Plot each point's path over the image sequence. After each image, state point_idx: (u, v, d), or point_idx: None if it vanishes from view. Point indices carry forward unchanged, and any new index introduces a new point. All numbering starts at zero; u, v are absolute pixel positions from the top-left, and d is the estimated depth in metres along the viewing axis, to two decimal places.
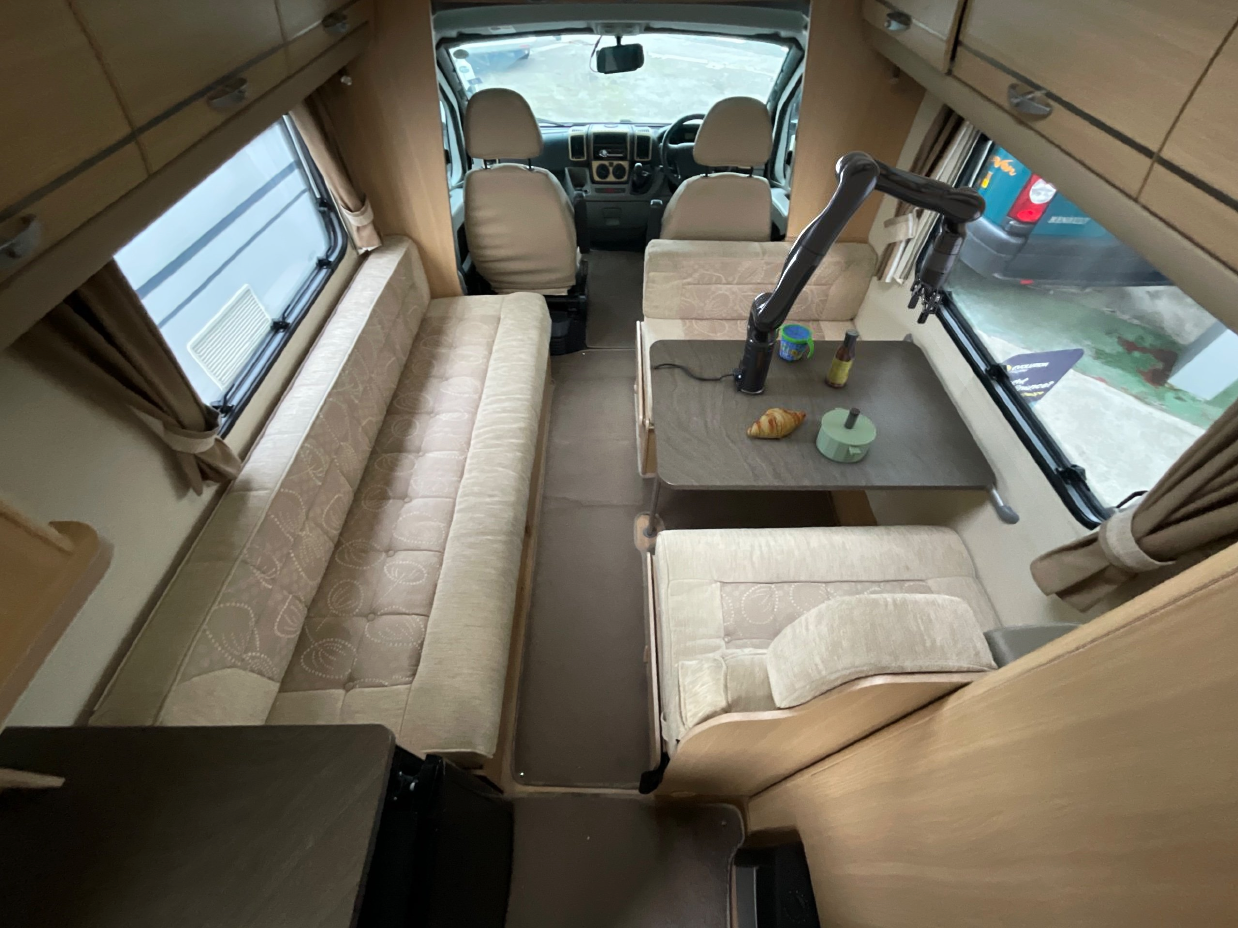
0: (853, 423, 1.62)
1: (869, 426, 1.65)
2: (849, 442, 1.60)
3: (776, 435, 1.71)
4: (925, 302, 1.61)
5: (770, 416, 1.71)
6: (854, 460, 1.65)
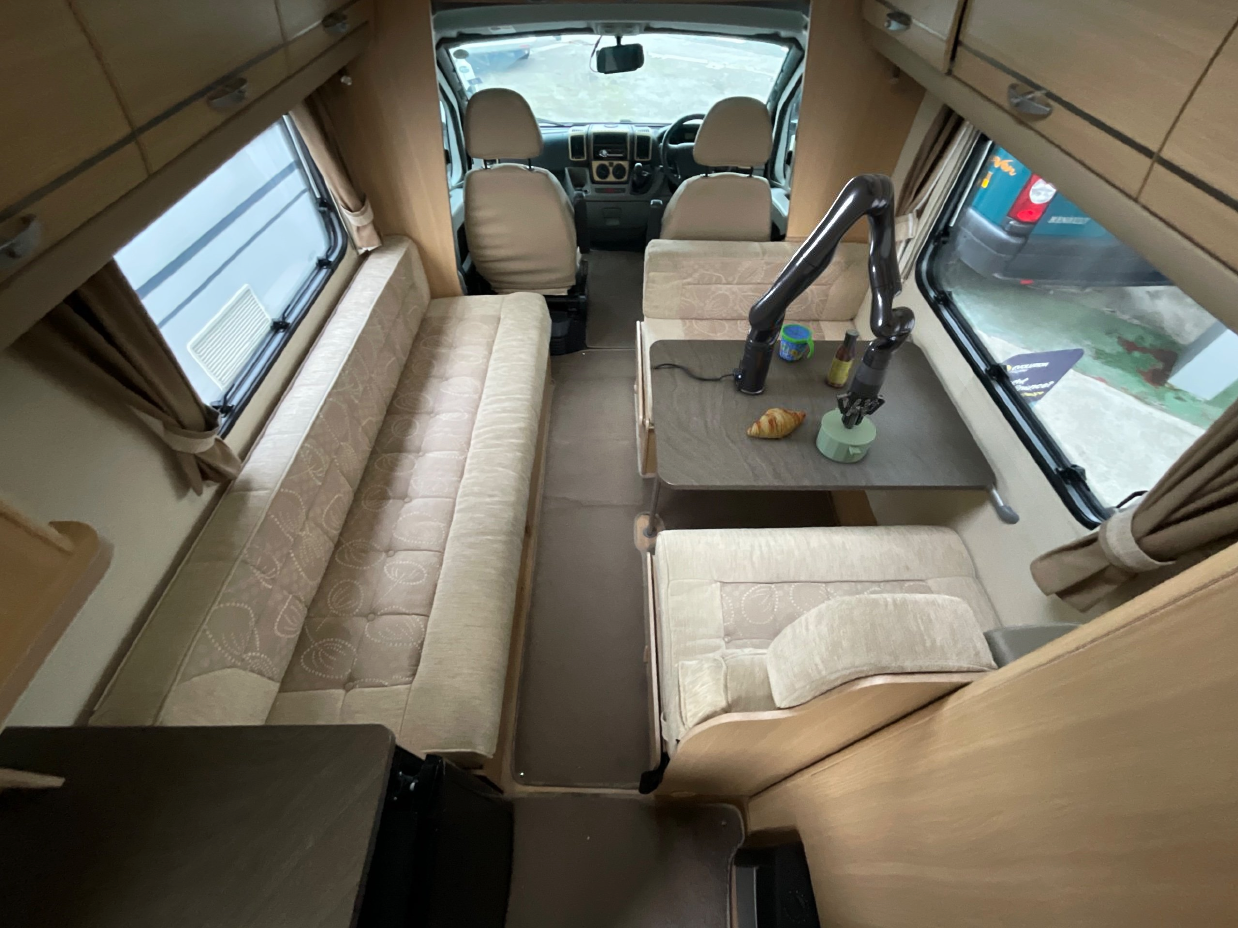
0: (853, 423, 1.62)
1: (869, 426, 1.65)
2: (849, 442, 1.60)
3: (776, 435, 1.71)
4: (847, 403, 1.60)
5: (770, 416, 1.71)
6: (854, 460, 1.65)
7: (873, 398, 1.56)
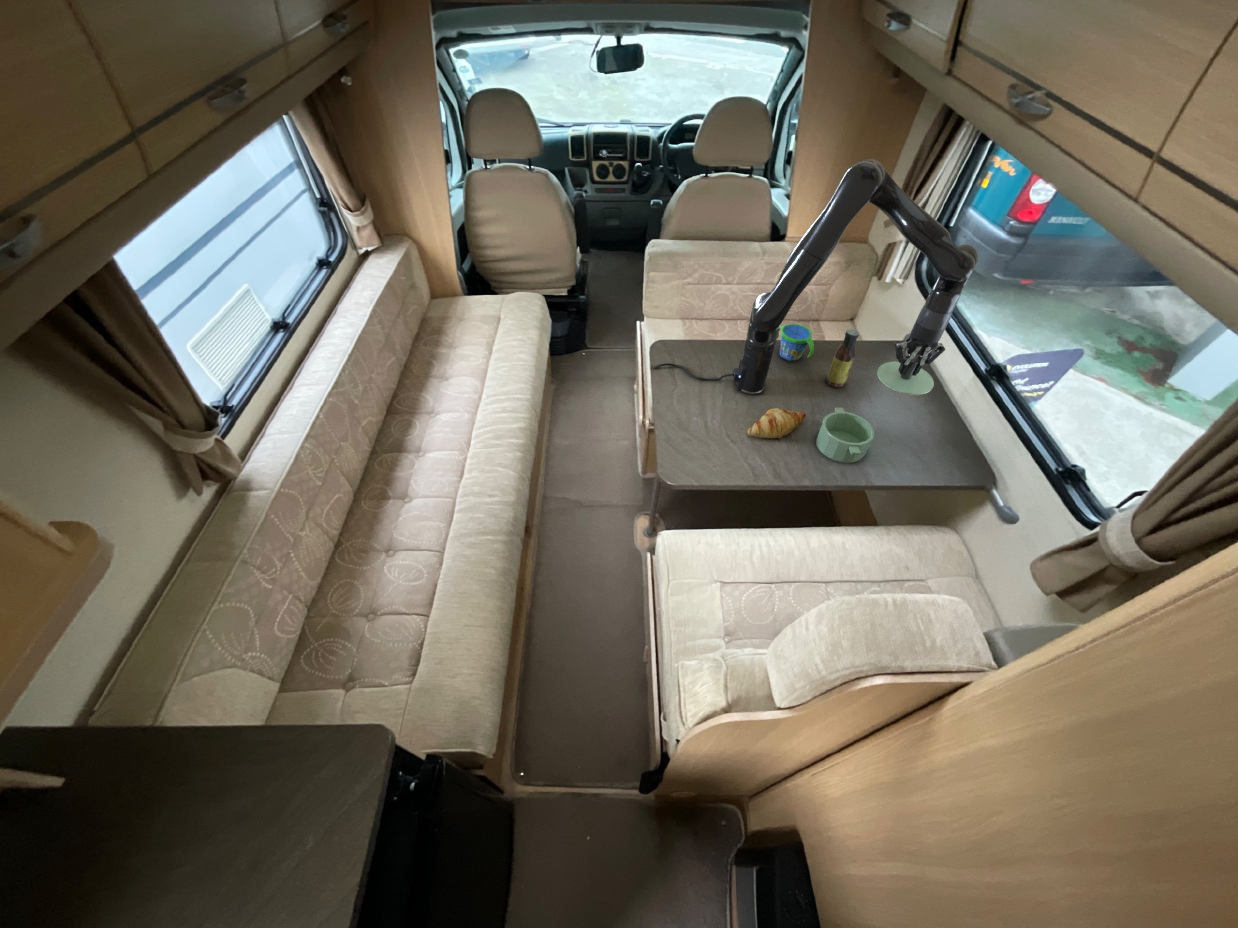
0: (911, 373, 1.60)
1: (926, 377, 1.63)
2: (908, 391, 1.58)
3: (776, 435, 1.71)
4: (906, 352, 1.58)
5: (770, 416, 1.71)
6: (854, 460, 1.65)
7: (933, 345, 1.54)
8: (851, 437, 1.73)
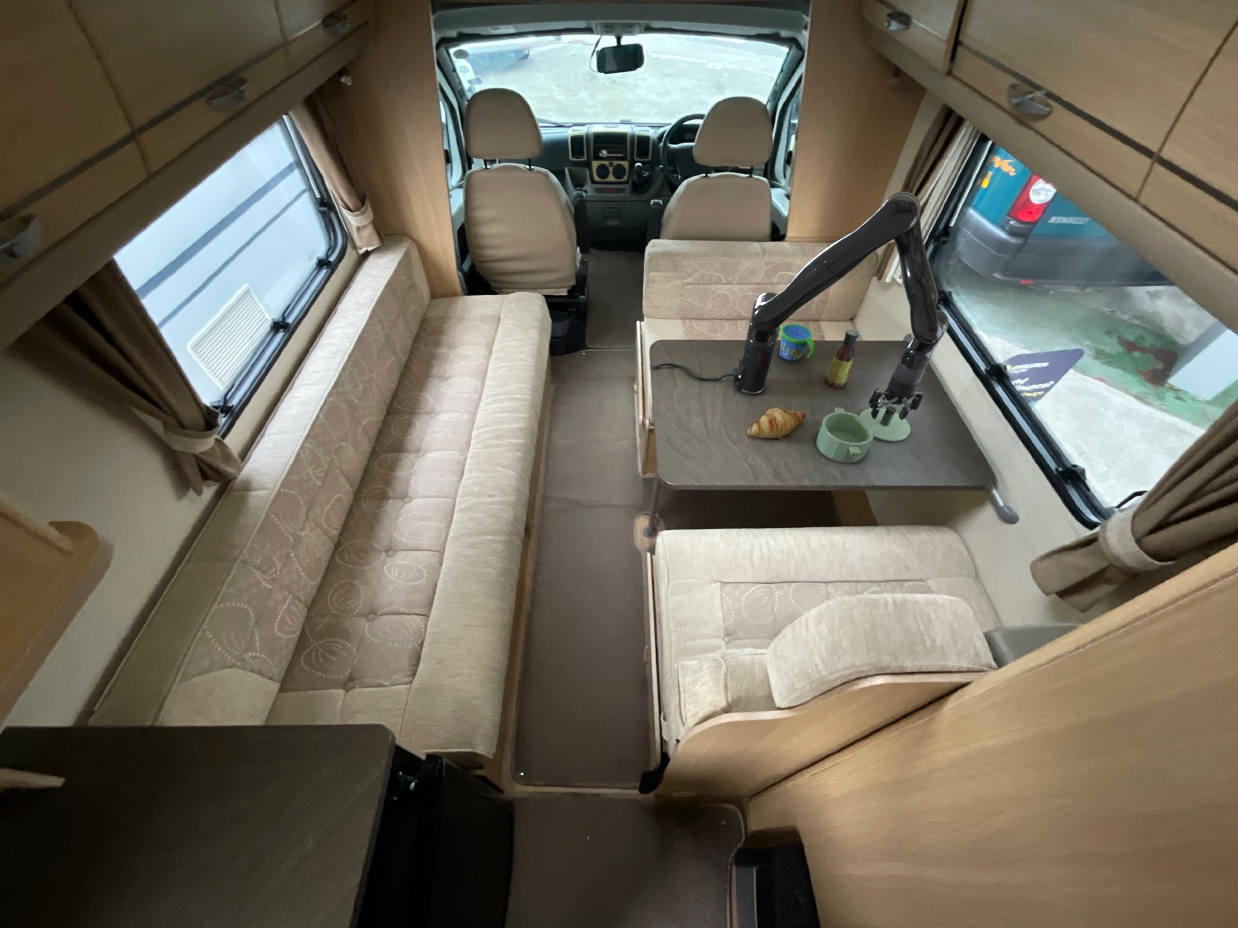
0: (889, 420, 1.74)
1: (903, 423, 1.77)
2: (886, 438, 1.72)
3: (776, 435, 1.71)
4: (881, 398, 1.71)
5: (770, 416, 1.71)
6: (854, 460, 1.65)
7: (909, 396, 1.67)
8: (851, 437, 1.73)
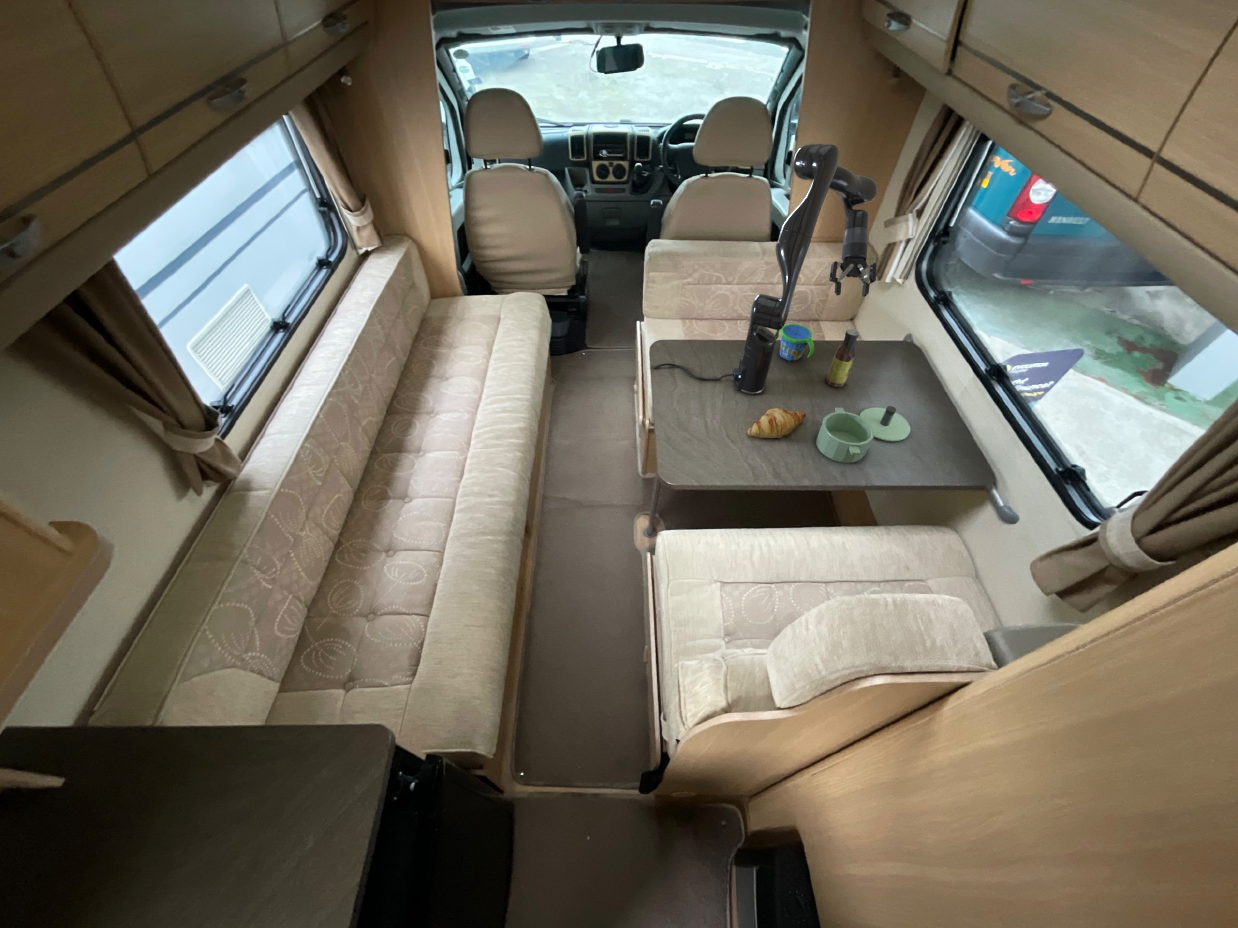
0: (889, 420, 1.74)
1: (903, 423, 1.77)
2: (886, 438, 1.72)
3: (776, 435, 1.71)
4: (839, 275, 1.82)
5: (770, 416, 1.71)
6: (854, 460, 1.65)
7: (864, 265, 1.80)
8: (851, 437, 1.73)
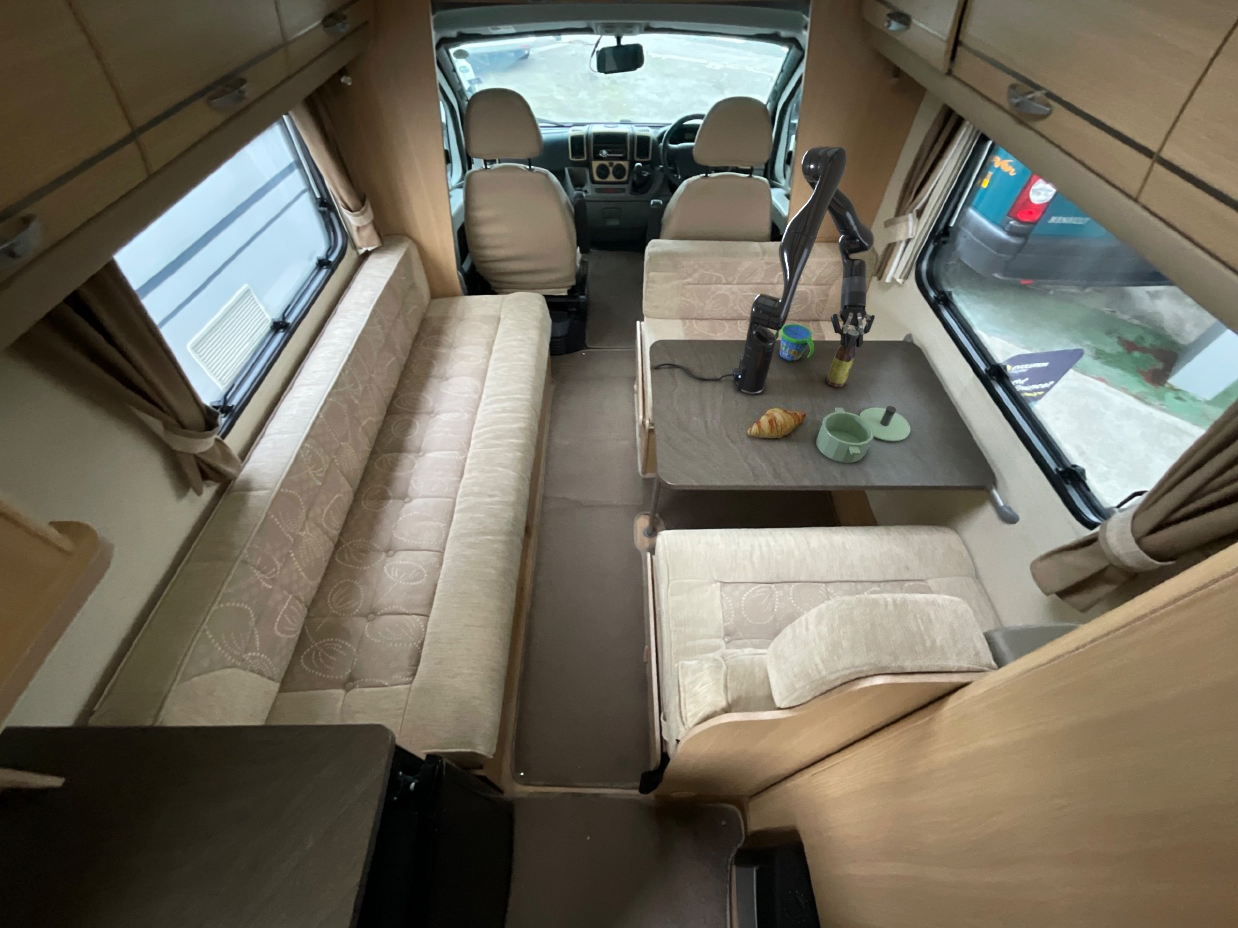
0: (889, 420, 1.74)
1: (903, 423, 1.77)
2: (886, 438, 1.72)
3: (776, 435, 1.71)
4: (842, 326, 1.81)
5: (770, 416, 1.71)
6: (854, 460, 1.65)
7: (863, 314, 1.79)
8: (851, 437, 1.73)
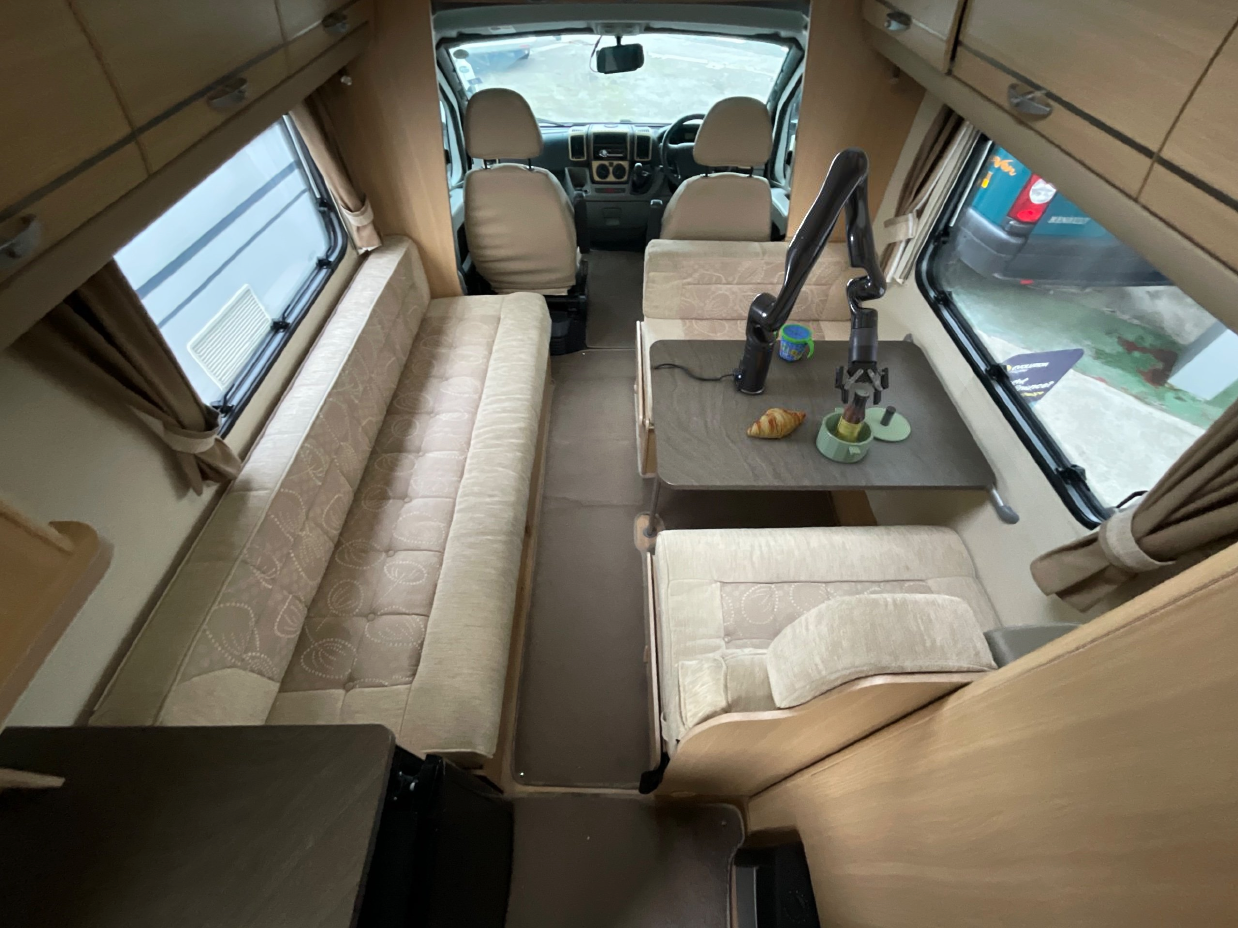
0: (889, 420, 1.74)
1: (903, 423, 1.77)
2: (886, 438, 1.72)
3: (776, 435, 1.71)
4: (846, 380, 1.58)
5: (770, 416, 1.71)
6: (854, 460, 1.65)
7: (874, 370, 1.56)
8: None
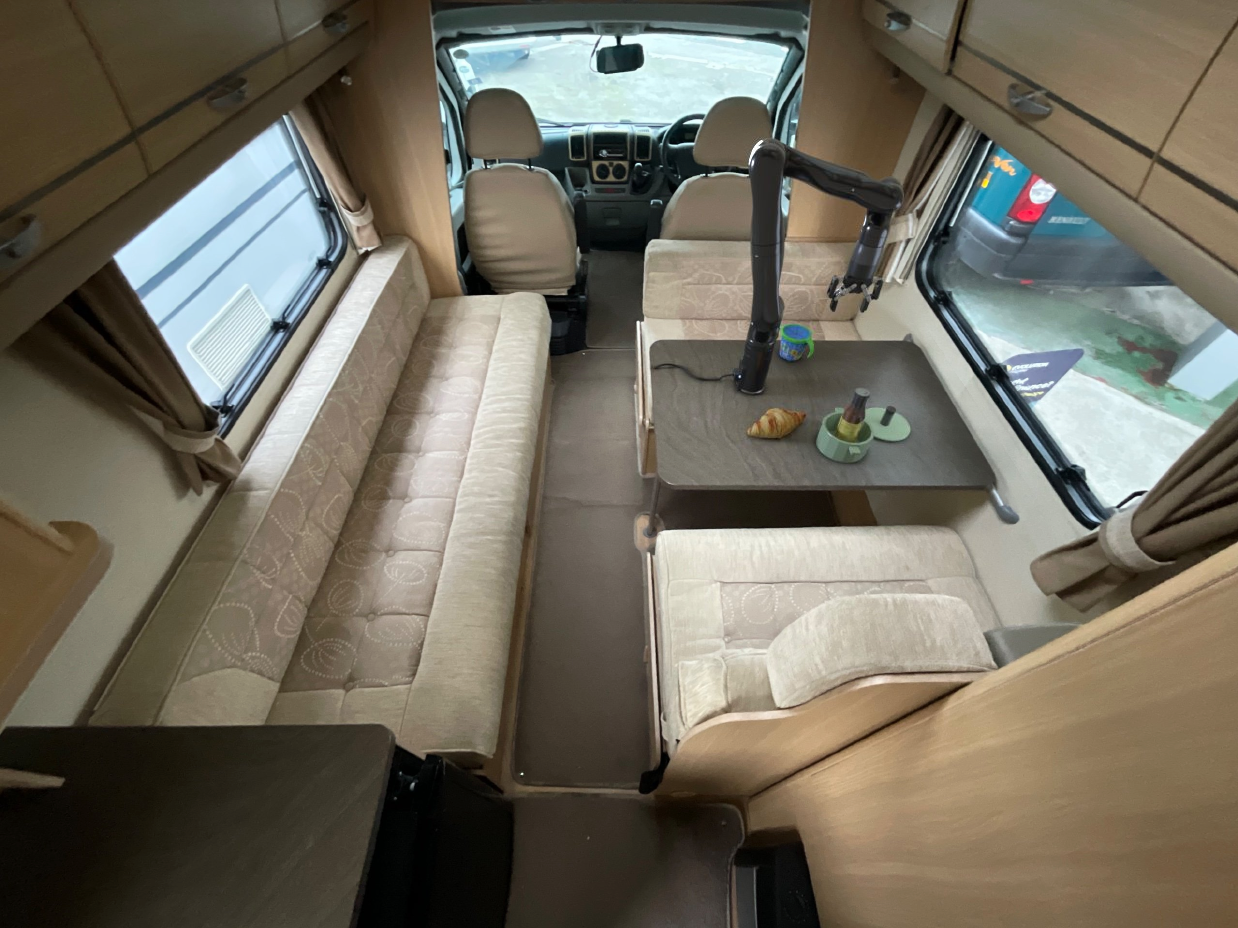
0: (889, 420, 1.74)
1: (903, 423, 1.77)
2: (886, 438, 1.72)
3: (776, 435, 1.71)
4: (839, 288, 1.60)
5: (770, 416, 1.71)
6: (854, 460, 1.65)
7: (868, 283, 1.57)
8: None
